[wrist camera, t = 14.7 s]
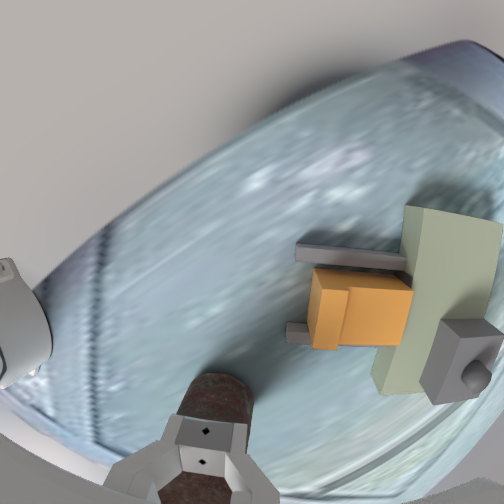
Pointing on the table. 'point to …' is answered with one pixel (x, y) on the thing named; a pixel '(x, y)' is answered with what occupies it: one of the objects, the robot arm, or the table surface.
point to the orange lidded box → (356, 308)
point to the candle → (216, 409)
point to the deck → (431, 304)
